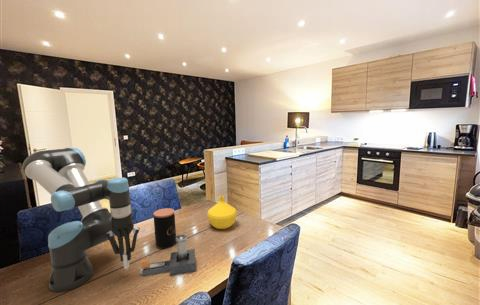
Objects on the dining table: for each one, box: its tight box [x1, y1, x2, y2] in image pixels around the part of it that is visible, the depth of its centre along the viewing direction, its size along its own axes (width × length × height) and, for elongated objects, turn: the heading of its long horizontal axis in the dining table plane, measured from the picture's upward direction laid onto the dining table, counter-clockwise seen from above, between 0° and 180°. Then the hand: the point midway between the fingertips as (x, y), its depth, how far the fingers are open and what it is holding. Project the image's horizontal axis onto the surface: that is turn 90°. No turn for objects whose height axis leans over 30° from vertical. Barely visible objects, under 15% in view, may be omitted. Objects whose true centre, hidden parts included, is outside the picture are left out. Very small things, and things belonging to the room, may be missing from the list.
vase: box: [207, 195, 238, 230], centre depth 140 cm, size 18×18×19 cm
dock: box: [141, 248, 197, 277], centre depth 101 cm, size 22×11×4 cm, turn 104°
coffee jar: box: [152, 207, 177, 249], centre depth 120 cm, size 11×11×18 cm
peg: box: [176, 233, 188, 262], centre depth 102 cm, size 5×5×14 cm
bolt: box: [139, 257, 166, 275], centre depth 99 cm, size 10×2×5 cm, turn 104°
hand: (126, 267), depth 97 cm, fingers closed
